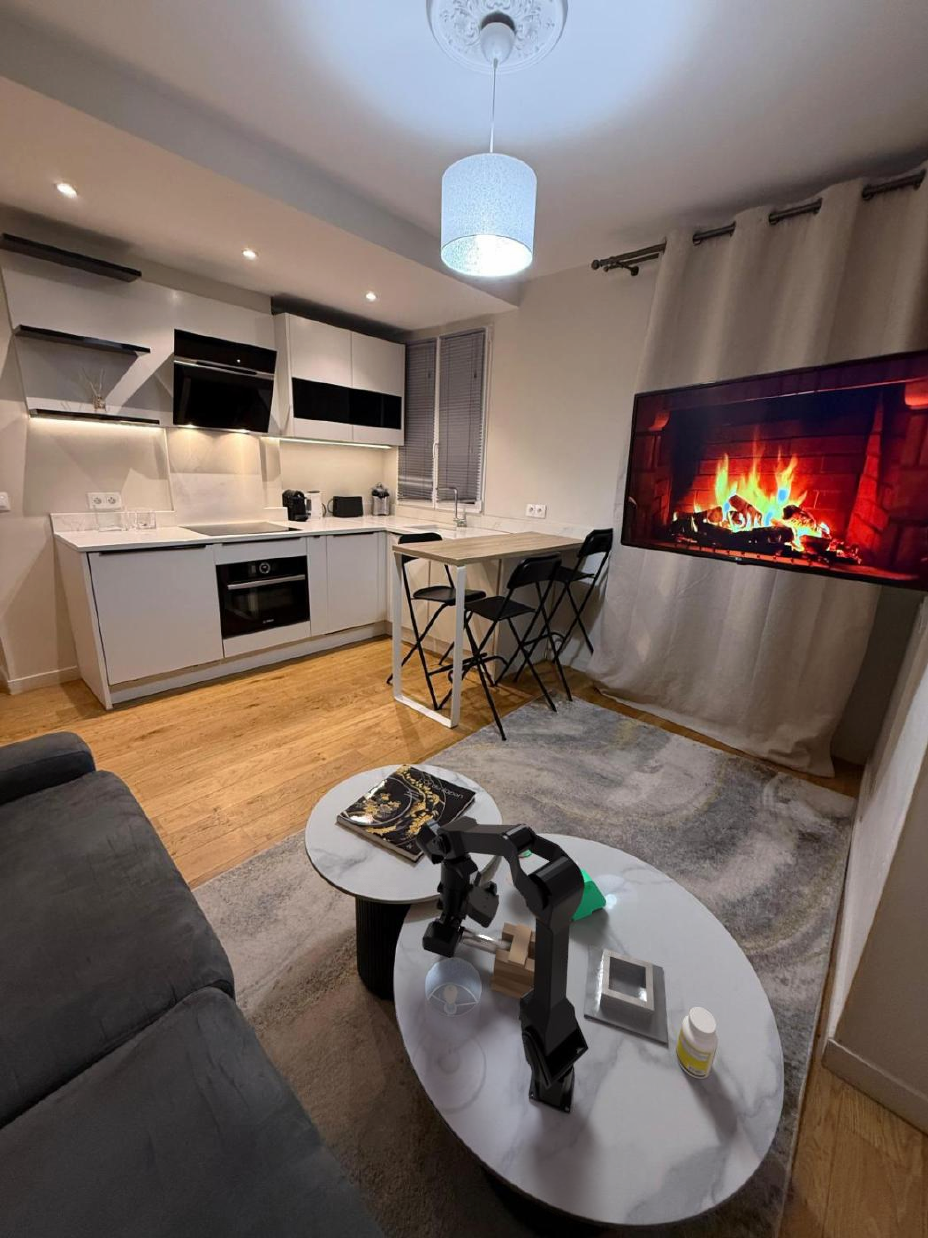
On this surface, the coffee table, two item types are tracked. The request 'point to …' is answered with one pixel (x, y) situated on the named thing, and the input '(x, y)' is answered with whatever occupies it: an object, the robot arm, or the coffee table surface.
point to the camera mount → (589, 898)
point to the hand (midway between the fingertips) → (453, 939)
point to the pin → (484, 942)
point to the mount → (515, 962)
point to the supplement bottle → (697, 1043)
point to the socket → (626, 994)
